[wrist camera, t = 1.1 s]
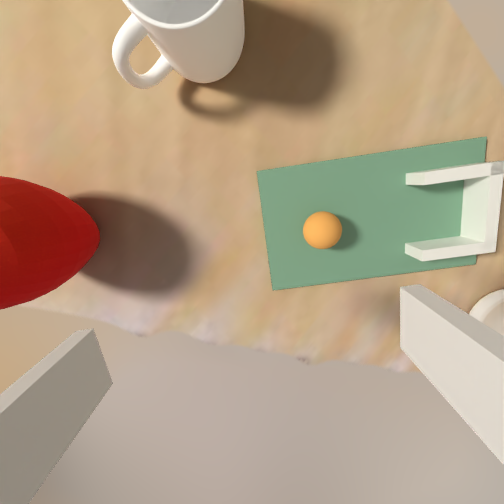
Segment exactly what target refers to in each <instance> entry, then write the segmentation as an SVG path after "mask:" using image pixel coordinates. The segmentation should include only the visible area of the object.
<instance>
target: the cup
mask: <svg viewBox="0 0 504 504" xmlns="http://www.w3.org/2000/svg"><path fill="white" fill-rule="evenodd" d="M122 1H123V2H124V3H125V5H126V6H127V7H128V9H129V10H130V11H131V13H132V15H131V16H130V17H129V18H128V19H127V21H126V22H125V23H124V24H123V26H122V27H121V29H120V30H119V32H118V33H117V35H116V37H115V40H114V43H113V47H112V56H113V60H114V64H115V66H116V68H117V70H118V72H119V73H120V75H121V76H122V77H123V79H124V80H125V81H126V82H128V83H129V84H130V85H132V86H134V87H136V88H140V89H148V88H151V87H153V86H155V85H157V84H158V83H160V82H161V81H162V80H163V79H164V78H165V77H166V76H167V75H168V74H169V73H170V72H171V71H172V70H173V69H174V70H175V71H176V72H177V73H178V74H180V75H181V76H182V77H184V78H186V79H188V80H190V81H193V82H197V83H210V82H214V81H217V80H219V79H221V78H223V77H224V76H226V75H227V74H228V73H229V72H230V71H231V70H232V69H233V68H234V67H235V65H236V64H237V62H238V60H239V58H240V55H241V52H242V49H243V44H244V35H245V27H244V9H243V0H122ZM146 35H148V36H149V38H150V39H151V40H152V42H153V43H154V45H155V46H156V47H157V49H158V50H159V51H160V53H161V54H162V55H161V57H160V58H159V60H158V61H157V62H156V64H155V65H154V66H153V67H152V68H151V69H150V70H149V71H148V72H147V73H145V74H142V75H140V74H137V73H136V72H135V71H134V70H133V69H132V67H131V65H130V63H129V57H130V54H131V52H132V51H133V50H134V48H135V47H136V46H137V45H138V44H139V42H140V41H141V40H142V39H143V38H144V37H145V36H146Z"/></svg>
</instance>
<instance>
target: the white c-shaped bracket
mask: <svg viewBox="0 0 504 504" xmlns="http://www.w3.org/2000/svg"><path fill="white" fill-rule="evenodd" d="M503 176H504V161H493V162H482V163H473V164H466V165H459V166H452V167H446V168H439V169H432V170H425V171H418V172H412V173H406V185H429V184H436V183H443V182H450V181H457V180H464V189H463V204H462V218H461V233H460V236H456V237H449V238H441V239H434V240H426V241H419V242H411V243H405V254H407V255H410V256H412V257H414V258H416V259H418V260H420V261H430V260H437V259H445V258H453V257H460V256H468V255H476V254H483V253H491V252H495V251H496V241H497V232H498V223H499V213H500V204H501V195H502V185H503Z"/></svg>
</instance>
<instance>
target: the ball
mask: <svg viewBox="0 0 504 504" xmlns="http://www.w3.org/2000/svg"><path fill="white" fill-rule="evenodd" d="M341 234H342V225H341V223H340V221H339V219H338V218H337V217H336V216H335V215H334V214H332V213H330V212H325V211H320V212H316V213H314V214H312V215H311V216H309V217H308V218H307V220H306V221H305V223H304V226H303V235H304V238H305V240H306V241H307V243H308V244H309V245H311V246H312V247H314V248H317V249H327V248H330V247H332V246H334V245H335V244H336V243H337V242H338V241H339V239H340V237H341Z"/></svg>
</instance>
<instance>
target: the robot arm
mask: <svg viewBox="0 0 504 504" xmlns="http://www.w3.org/2000/svg"><path fill="white" fill-rule="evenodd" d="M400 348H401V349H402V350H403V351H404V352H405V353H406V355H407V356H408V357H409V358H410V359H411V360H412V361H413V362H414V364H415V365H416V366H417V367H418V368H419V369H420V370H421V372H422V373H423V374H424V375H425V376H426V377H427V378H428V380H429V381H430V382H431V383H432V384H433V385H434V386H435V388H436V389H437V390H438V391H439V392H440V393H441V394H442V395H443V396H444V398H445V399H446V400H447V401H448V402H449V403H450V405H451V406H452V407H453V408H454V409H455V410H456V411H457V412H458V414H459V415H460V416H461V417H462V418H463V419H464V421H465V422H466V423H467V424H468V425H469V426H470V427H471V428H472V430H473V431H474V432H475V433H476V434H477V435H478V436H479V438H480V439H481V440H482V441H483V442H484V443H485V444H486V446H488V448H489V449H490V450H491V451H492V452H493V454H494V455H495V456H496V457H497V458H498V459H499V460H500V461H501V463H502V464H503V465H504V336H503V335H501V334H500V333H498V332H496V331H495V330H493V329H492V328H490V327H488V326H487V325H485V324H484V323H482V322H480V321H479V320H477V319H476V318H474V317H472V316H471V315H469V314H467V313H466V312H464V311H463V310H461V309H459V308H458V307H456V306H455V305H453V304H451V303H450V302H448V301H446V300H445V299H443V298H442V297H440V296H438V295H437V294H435V293H434V292H432V291H430V290H429V289H427V288H425V287H424V286H422V285H421V284H418V285H410V286H403V287H400ZM112 384H113V382H112V380H111V377H110V374H109V371H108V369H107V366H106V363H105V360H104V357H103V354H102V352H101V349H100V346H99V343H98V340H97V337H96V335H95V332H94V329H88V330H80V331H75V332H74V333H73V334H72V335H70V336H69V337H68V338H67V339H66V340H65V341H63V342H62V343H61V344H60V345H59V346H57V347H56V348H55V349H54V350H53V351H51V352H50V353H49V354H48V355H47V356H46V357H44V358H43V359H42V360H41V361H39V362H38V363H37V364H36V365H35V366H34V367H32V368H31V369H30V370H29V371H27V372H26V373H25V374H24V375H23V376H21V377H20V378H19V379H18V380H17V381H16V382H14V383H13V384H12V385H11V386H10V387H8V388H7V389H6V390H5V391H4V392H2V393H1V394H0V504H29V502H30V501H31V500H32V498H33V497H34V495H35V494H36V492H37V491H38V490H39V488H40V487H41V485H42V484H43V482H44V481H45V480H46V478H47V477H48V475H49V474H50V472H51V471H52V470H53V468H54V467H55V465H56V464H57V462H58V461H59V460H60V458H61V457H62V455H63V454H64V452H65V451H66V450H67V448H68V447H69V445H70V444H71V443H72V441H73V440H74V438H75V437H76V435H77V434H78V433H79V431H80V430H81V428H82V427H83V425H84V424H85V423H86V421H87V420H88V418H89V417H90V415H91V414H92V413H93V411H94V410H95V408H96V407H97V405H98V404H99V403H100V401H101V400H102V398H103V397H104V395H105V394H106V393H107V391H108V390H109V388H110V387H111V385H112Z"/></svg>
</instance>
